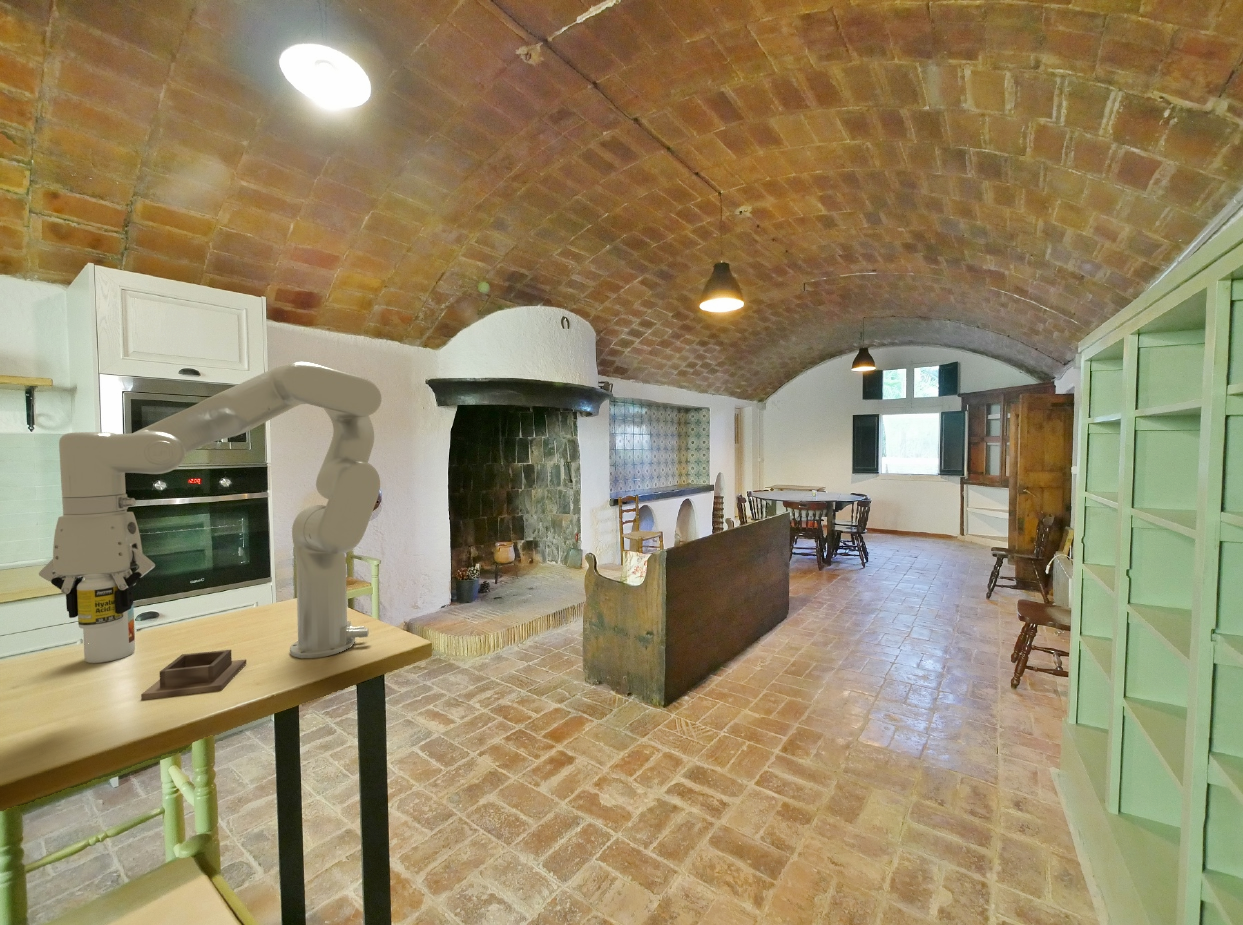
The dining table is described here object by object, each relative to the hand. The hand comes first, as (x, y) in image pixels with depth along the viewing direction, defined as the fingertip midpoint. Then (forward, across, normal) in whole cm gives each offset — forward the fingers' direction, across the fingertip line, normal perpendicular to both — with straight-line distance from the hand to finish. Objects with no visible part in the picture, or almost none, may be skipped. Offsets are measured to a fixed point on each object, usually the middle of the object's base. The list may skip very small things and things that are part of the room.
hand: (101, 612), depth 88 cm
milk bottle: (+17, +13, -28) cm, 35 cm away
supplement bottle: (+2, 0, 0) cm, 2 cm away
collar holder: (+17, -10, -9) cm, 21 cm away
